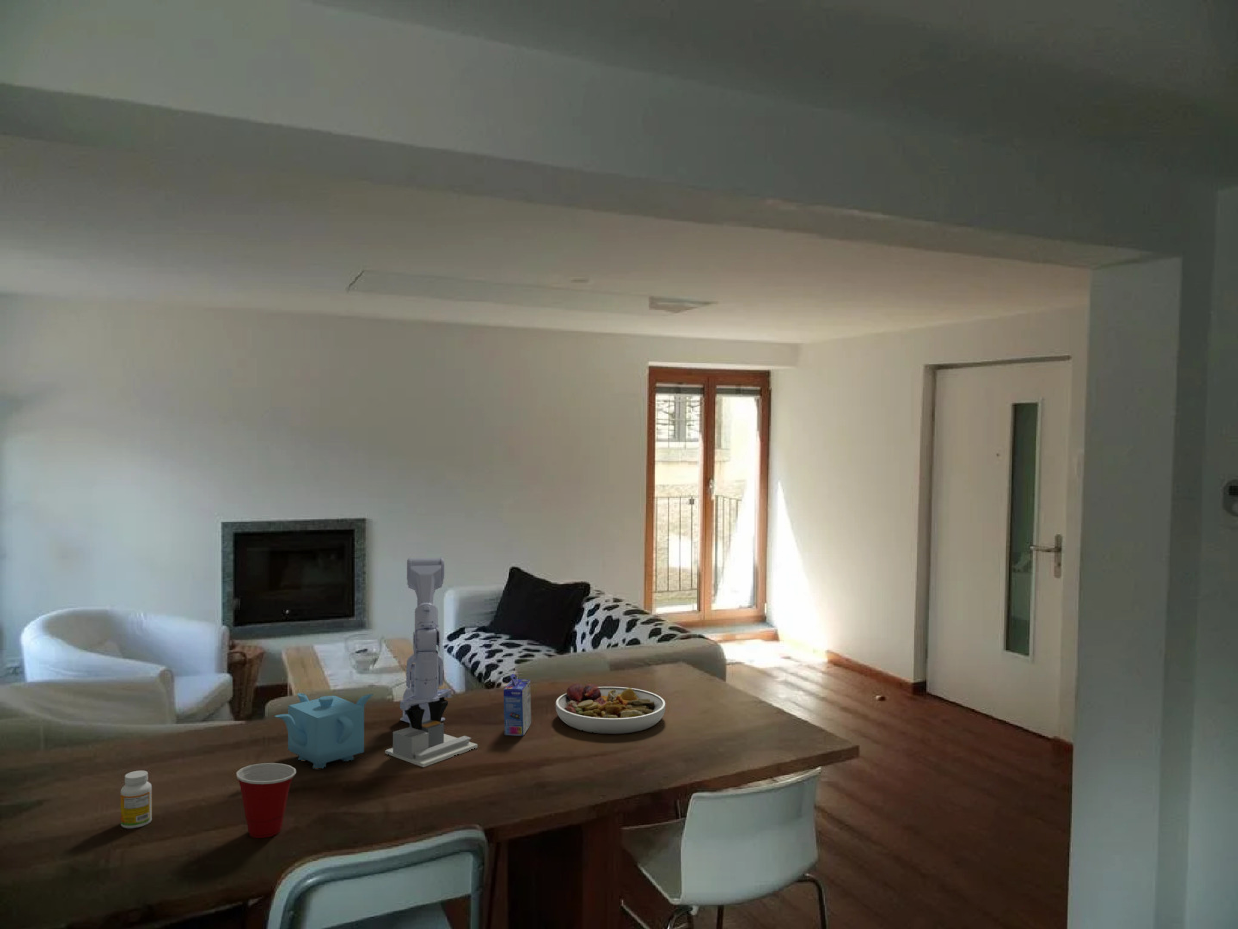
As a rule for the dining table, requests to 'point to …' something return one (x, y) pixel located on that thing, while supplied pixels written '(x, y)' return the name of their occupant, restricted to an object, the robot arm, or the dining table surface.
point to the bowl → (609, 709)
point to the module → (433, 731)
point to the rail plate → (439, 756)
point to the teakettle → (325, 729)
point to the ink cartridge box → (517, 706)
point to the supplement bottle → (136, 800)
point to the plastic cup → (265, 796)
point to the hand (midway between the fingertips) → (425, 732)
